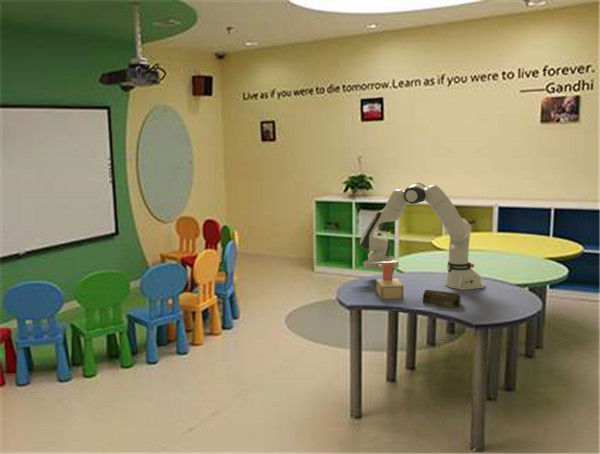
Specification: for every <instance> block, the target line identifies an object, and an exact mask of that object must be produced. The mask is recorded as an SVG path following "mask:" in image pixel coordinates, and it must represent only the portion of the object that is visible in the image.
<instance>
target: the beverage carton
mask: <svg viewBox="0 0 600 454" xmlns="http://www.w3.org/2000/svg"><path fill="white" fill-rule="evenodd" d="M422 304H433V305H435V306H437V307H445V308H447V307H448V308H458V309H460V307H461V304H462V293H461V292H451V291H442V290H433V289H425V290H424V292H423V294H422Z"/></svg>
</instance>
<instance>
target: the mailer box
mask: <svg viewBox="0 0 600 454" xmlns="http://www.w3.org/2000/svg"><path fill="white" fill-rule="evenodd" d="M375 281H376V280H375ZM375 283H376V287H375V288H376V289H375V292H376V293H377V294H378V296H379V298H380V299H381V300H385V299H386V300H388V299H389V300H390V299H391V300H392V299H403V298H404V286H403V287H385V288H381V286H380V285H379V283H378V282H377V281H376V282H375Z"/></svg>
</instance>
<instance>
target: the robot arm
mask: <svg viewBox="0 0 600 454" xmlns="http://www.w3.org/2000/svg"><path fill="white" fill-rule="evenodd" d="M424 201H425V202H426V203H427V204H428V205H429V206H430V208H431V209H432V210H433V212H434V214H435V215H436V216H437V217H438V220H439V221H440V222H441V224H442V226H443V228H444V230H445V231H446V233H447V234H448V236H449V245H448V261H447V268H446V269H447V270H446V271H447V275H446V280H445V283H444V285H445V286H446V287H448V288H451V289H458V290H460V291H465V290H474V289H475V290H476V289H483V288H486V284H485V283H484V282H482V278H481V276H480V274H479V273H478V272H477V271H475V270H474V269H473V268H474V267H475V264H474V263H471V262H469V252H470V251H469V250H470V249H469V248H470V237H471V233H470V232H471V224H470V222H469V221H468V220H467V219H465V218H463V217H461V215H460V214H459V211H458V209H457V208H456V206H455V205H454V204H453V202H452V201H451V200H450V198H449V197H448V196H447V194H446V193H445V192H444V191H443V190H442V189H441V187H440V186H438V184H437V185H436V184H431V185H429V186H427V187H426V186H425V184H423V183H420V182H416V183H413V184H410V185H409V186H407V187H406V188H405V189H399V188H398V189H394V190H393V191H392V193H391V194H390V196H389V198H388V200H387V201H386V205H385V206H384V208H382V209H381V210H379V211H377V213H375V215H374V217H373V218H372V220H371V222H370V223H369V225H368V226H367V229H366V230H365V231H364V233H363V234H362V236H361V237H360V239H359V246H360V247H361V248H362V250H364V251H365V250H366V251H369V252H368V254H367V257H368V259H367V260H364V261H362V265H364V269H366V270H371V269H374V270H375V269H376V270H383V264H393V269H395V268H396V269H397V268H399V266H400V265H399V260H397V259H396V258H394V256H393V255H389V253H390V250H391V243H390V240H389V239H388V238H385V237H381V236H377V235H374V233H375V231H376V229H377V228H378V226H379V225H380V224H383V223H388V222H396V221H398V220H399V219H401V218H402V216H403V214H404V212H405V208H406V207H407V204H409V205H410V204H411V205H416V204H419V203H423V202H424Z"/></svg>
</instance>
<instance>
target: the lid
mask: <svg viewBox="0 0 600 454" xmlns="http://www.w3.org/2000/svg"><path fill="white" fill-rule="evenodd" d="M393 269H394V268H393V264H383V269H382V278H376V280H375V281H377V282H378V283H379V285H380V286H381V288H385V287H403V288H404V284H403V283H402V282H401V281H400V279H398V277H397V278H393V273H394V272H393Z"/></svg>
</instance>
